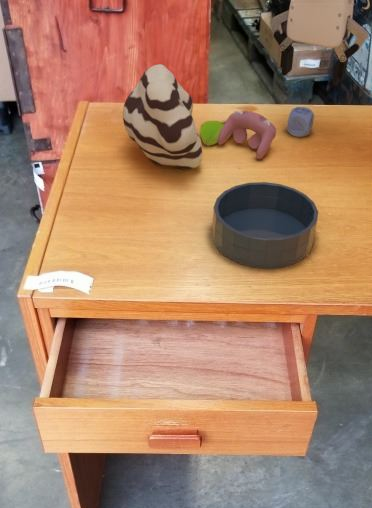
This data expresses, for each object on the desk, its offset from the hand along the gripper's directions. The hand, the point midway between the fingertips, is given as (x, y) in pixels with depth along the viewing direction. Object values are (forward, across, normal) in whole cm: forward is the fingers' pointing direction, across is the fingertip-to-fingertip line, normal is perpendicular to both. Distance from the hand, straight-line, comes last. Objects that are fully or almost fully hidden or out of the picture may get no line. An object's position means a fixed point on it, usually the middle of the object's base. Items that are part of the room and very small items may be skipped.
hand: (311, 77), depth 106 cm
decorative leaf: (+10, +14, +9) cm, 19 cm away
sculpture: (+10, +18, +22) cm, 30 cm away
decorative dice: (+10, +1, 0) cm, 10 cm away
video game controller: (+10, +7, +11) cm, 16 cm away
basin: (+10, -8, +35) cm, 37 cm away
